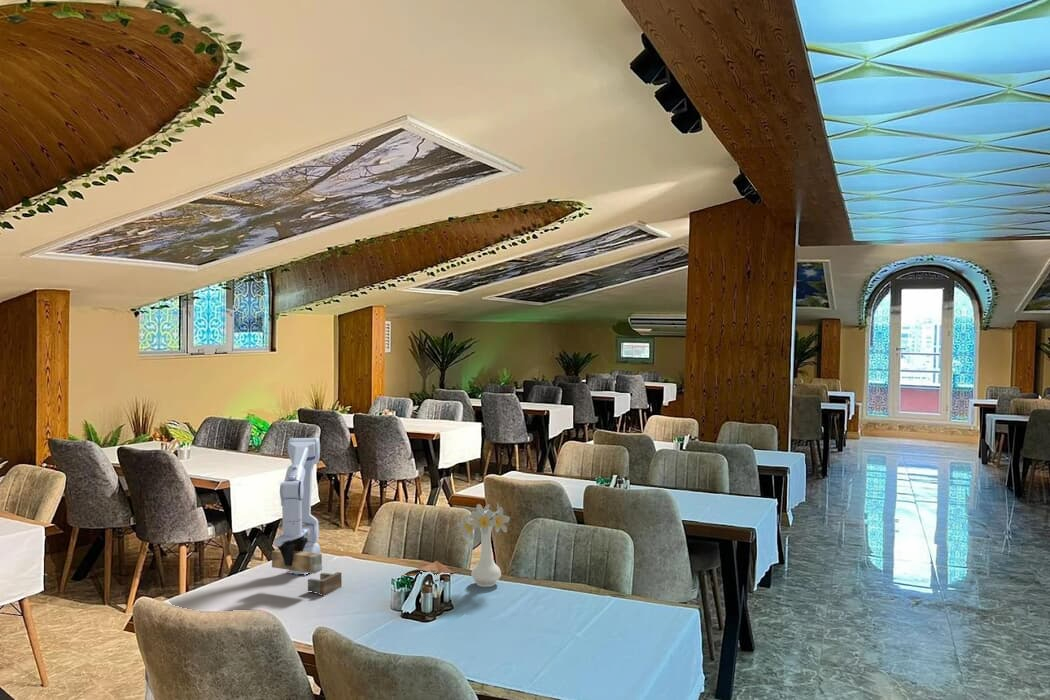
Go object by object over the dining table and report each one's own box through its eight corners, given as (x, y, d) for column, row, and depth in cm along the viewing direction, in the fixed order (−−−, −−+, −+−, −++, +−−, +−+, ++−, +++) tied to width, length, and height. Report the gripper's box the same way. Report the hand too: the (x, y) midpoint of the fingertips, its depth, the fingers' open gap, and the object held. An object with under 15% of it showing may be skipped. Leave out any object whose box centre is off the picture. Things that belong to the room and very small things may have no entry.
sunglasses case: (423, 588, 251) (414, 568, 253) (407, 596, 255) (399, 576, 256) (456, 572, 267) (448, 553, 268) (442, 580, 270) (433, 561, 272)
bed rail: (271, 567, 250) (271, 551, 250) (279, 564, 254) (279, 548, 253) (314, 573, 244) (314, 557, 244) (321, 570, 247) (321, 553, 247)
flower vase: (452, 590, 250) (451, 509, 249) (484, 573, 266) (484, 498, 265) (487, 597, 243) (487, 514, 242) (518, 580, 259) (518, 502, 258)
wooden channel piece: (306, 593, 247) (306, 578, 247) (324, 584, 255) (324, 570, 255) (324, 596, 244) (323, 581, 244) (341, 587, 253) (341, 572, 253)
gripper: (296, 513, 257) (297, 555, 258) (265, 524, 244) (266, 568, 244) (315, 515, 254) (315, 558, 255) (284, 526, 241) (285, 571, 242)
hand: (292, 563), depth 249 cm, fingers closed on bed rail, 3 cm apart
